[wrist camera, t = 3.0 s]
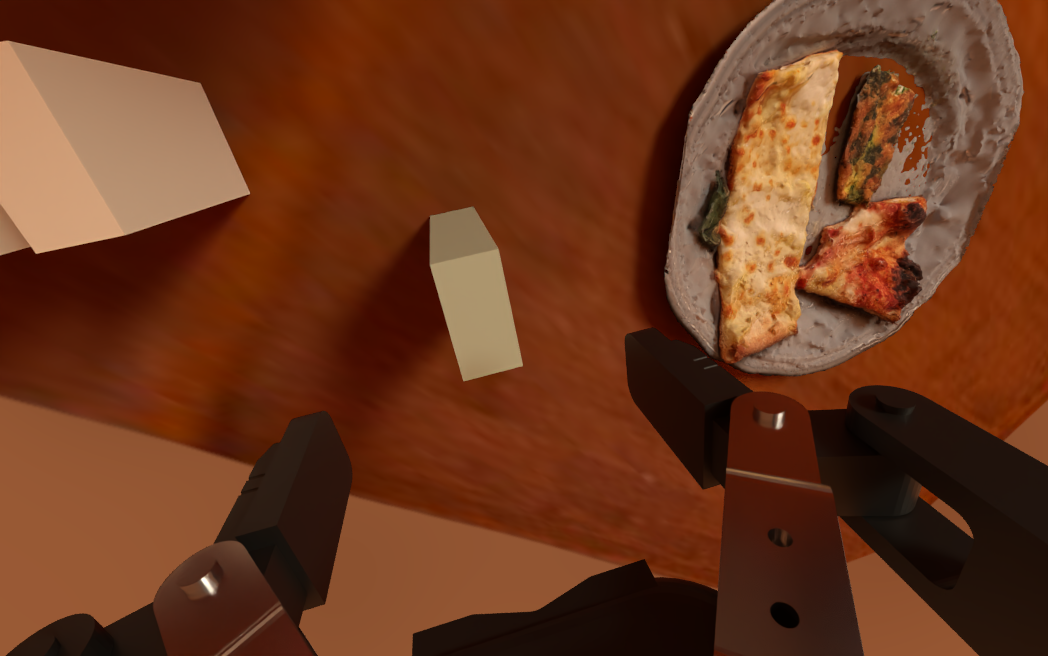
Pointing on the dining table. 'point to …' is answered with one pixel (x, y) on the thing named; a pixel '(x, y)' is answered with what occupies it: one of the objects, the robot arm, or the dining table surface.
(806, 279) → the food plate
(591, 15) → the dining table surface
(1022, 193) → the dining table surface
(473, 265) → the sage tile
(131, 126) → the tile
